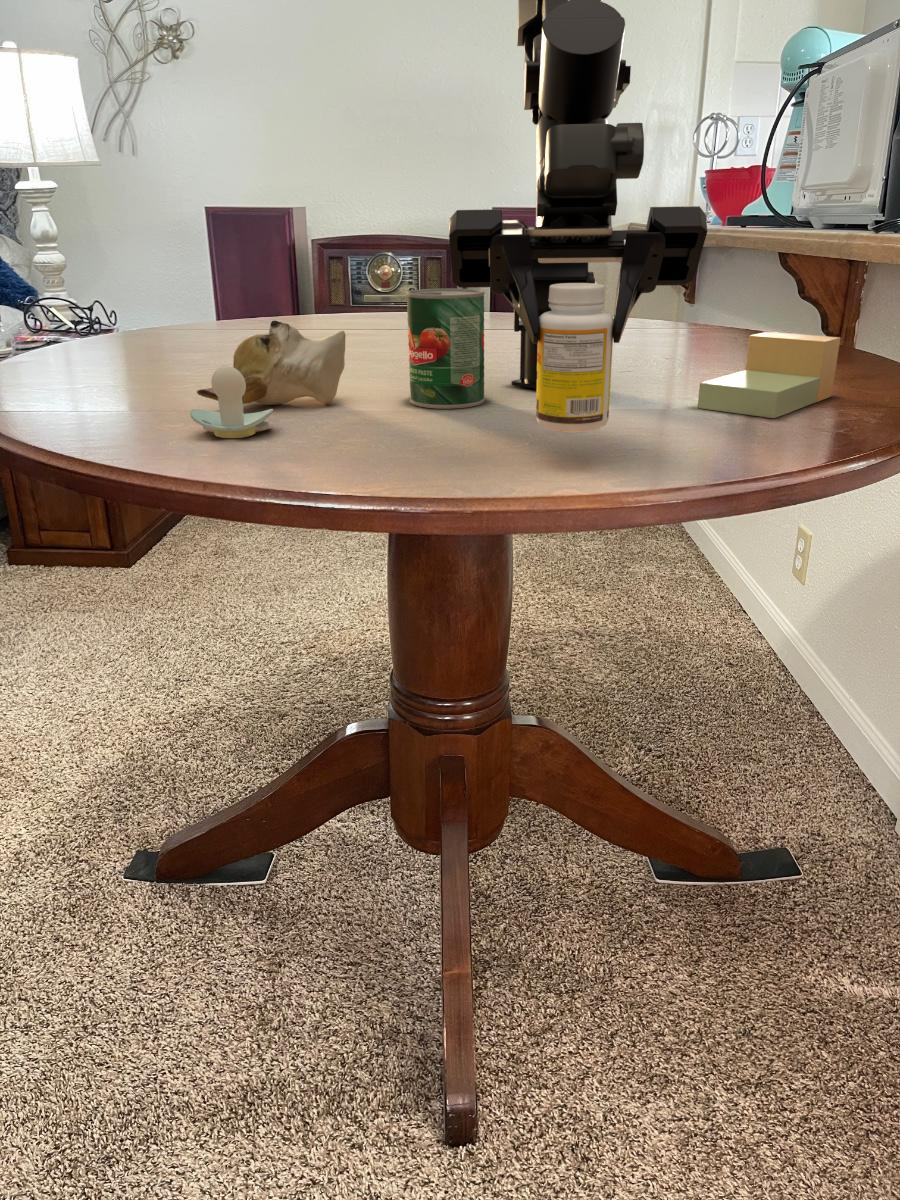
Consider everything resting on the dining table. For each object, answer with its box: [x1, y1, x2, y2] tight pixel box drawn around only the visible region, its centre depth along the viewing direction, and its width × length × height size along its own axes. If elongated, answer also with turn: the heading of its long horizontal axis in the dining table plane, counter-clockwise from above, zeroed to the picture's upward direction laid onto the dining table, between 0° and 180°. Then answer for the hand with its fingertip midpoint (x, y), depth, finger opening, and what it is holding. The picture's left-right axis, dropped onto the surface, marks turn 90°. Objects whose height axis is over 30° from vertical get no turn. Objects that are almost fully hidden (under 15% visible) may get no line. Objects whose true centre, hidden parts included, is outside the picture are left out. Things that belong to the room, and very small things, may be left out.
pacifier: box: [189, 365, 274, 439], centre depth 80 cm, size 7×6×6 cm
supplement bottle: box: [535, 283, 614, 433], centre depth 66 cm, size 6×6×10 cm
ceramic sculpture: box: [196, 320, 347, 406], centre depth 92 cm, size 11×9×15 cm
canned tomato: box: [405, 287, 486, 410], centre depth 91 cm, size 8×8×11 cm
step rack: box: [697, 331, 841, 419], centre depth 90 cm, size 8×14×6 cm, turn 138°
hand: (576, 339), depth 64 cm, fingers closed on supplement bottle, 5 cm apart
